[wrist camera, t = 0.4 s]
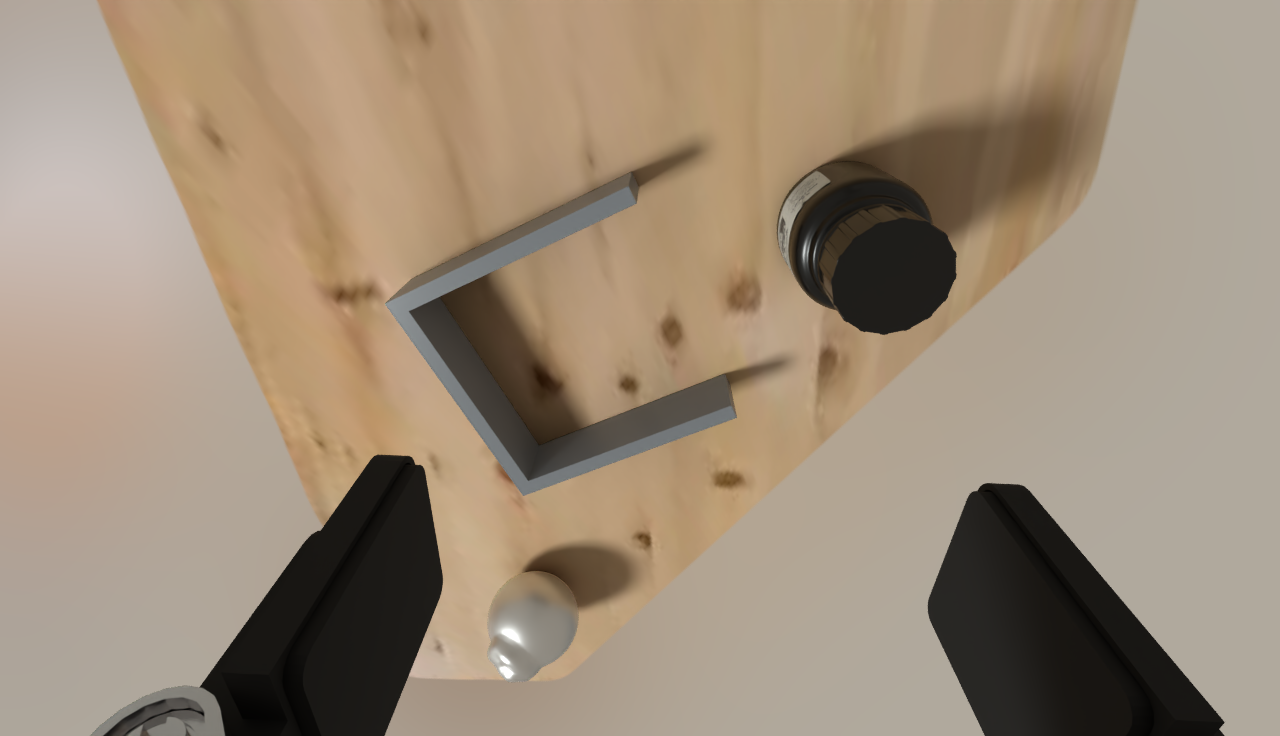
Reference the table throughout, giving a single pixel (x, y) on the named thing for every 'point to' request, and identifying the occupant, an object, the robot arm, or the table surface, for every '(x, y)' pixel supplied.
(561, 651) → the grey rounded piece
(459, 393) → the bin
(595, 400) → the table surface
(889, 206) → the ink bottle
